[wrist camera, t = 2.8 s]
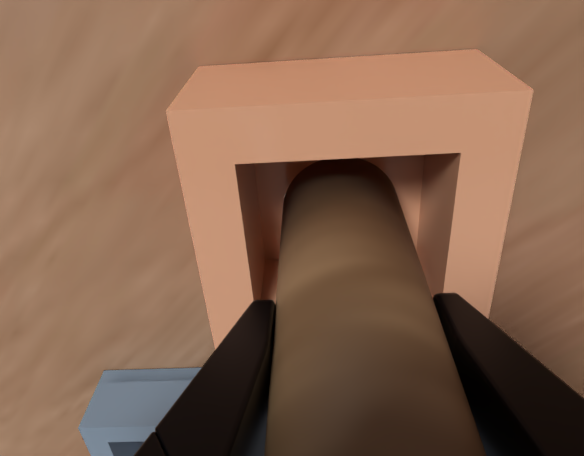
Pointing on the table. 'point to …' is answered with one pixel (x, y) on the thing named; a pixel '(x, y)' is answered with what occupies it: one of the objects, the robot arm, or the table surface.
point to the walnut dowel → (358, 328)
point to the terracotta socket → (342, 145)
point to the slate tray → (130, 408)
